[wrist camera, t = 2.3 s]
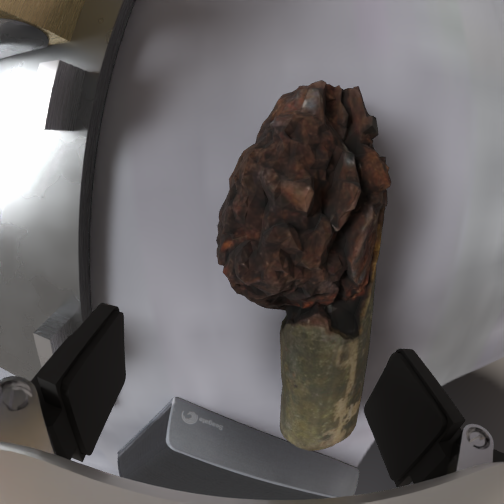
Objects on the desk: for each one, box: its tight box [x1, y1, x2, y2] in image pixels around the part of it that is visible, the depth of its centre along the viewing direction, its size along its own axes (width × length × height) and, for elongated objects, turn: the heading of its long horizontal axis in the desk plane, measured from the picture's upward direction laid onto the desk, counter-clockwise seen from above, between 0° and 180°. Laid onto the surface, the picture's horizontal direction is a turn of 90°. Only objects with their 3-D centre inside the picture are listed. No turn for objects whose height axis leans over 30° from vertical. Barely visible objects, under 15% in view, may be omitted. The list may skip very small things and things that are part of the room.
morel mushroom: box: [216, 80, 391, 451], centre depth 12 cm, size 18×7×6 cm, turn 5°
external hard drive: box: [118, 397, 359, 500], centre depth 19 cm, size 13×19×4 cm
